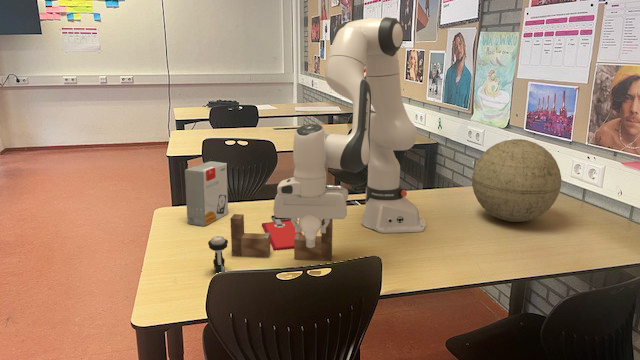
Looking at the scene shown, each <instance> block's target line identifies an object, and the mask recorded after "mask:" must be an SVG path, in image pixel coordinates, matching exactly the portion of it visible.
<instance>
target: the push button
mask: <svg viewBox="0 0 640 360" xmlns="http://www.w3.org/2000/svg"><path fill="white" fill-rule="evenodd" d="M228 244H229V241H228V239H225V237H224V236H222V235H219V236H218V235H217V236H212V237H211V239H210V240H209V241H208V242H207V245H208V247H209V249H210V250H211V251H214V259H213V260H212V261H213V262H212V263H213V269H214V273H215V274H216V273H219V272H223V273H224V271H226V266H225V262H226V260H225V258H224V257H223V252H222V251H224V250H225V249H226V248H228Z"/></svg>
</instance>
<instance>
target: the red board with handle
mask: <svg viewBox="0 0 640 360" xmlns="http://www.w3.org/2000/svg"><path fill="white" fill-rule="evenodd" d="M271 218H272V220H273V221H269V222H262V223H261V227H262V229H263V231H264V232H265V233H264V234H266V233H270V247H272V250H273V252H274V251H275V252H276V250H277V251H284V250H294V239H295V236H296V234H300V235H303V236H305V235H304V234H303V233H302V232H301V233H295V227H294V225H293V224H292V222H291V218H276V217H275V215H274V214H273V215H271Z"/></svg>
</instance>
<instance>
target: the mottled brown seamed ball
mask: <svg viewBox="0 0 640 360" xmlns="http://www.w3.org/2000/svg"><path fill="white" fill-rule="evenodd" d="M471 181H472V182H471V183H472V185H471V186H472V190H473V193H474V195H475V197H476V200H477V202H478V204H480V206H481V207H482V209H484V210H485V211H486V212H487V213H488V214H490V215H491V216H493V217H494V218H495V217H496V218H497V219H498V220H502V221H505V222H511V223H522V222H526V221H527V222H528V221H531V220H535V219H537V218H538V217H541V216H542V215H544V214H545V213H546V212H547V211H549V210H550V208H552V206H554V204H555V202H556V201H557V198H558V196H559V195H560V191H561V187H562V174H561V170H560V167H559V164H558V162H557V160H556V159H555V157H554V156H553V155H552V153H550V152H549V150H547V149H546V148H545V147H544V146H541V145H540V144H538V143H536V142H534V141H531V140H529V139H528V140H527V139H521V138H520V139H519V138H515V139H507V140H503V141H500V142H498V143H496V144H494V145H492V146H490V147H489V148H487V149H486V150H485V151H484V152H482V154H481V155H480V156H479V158H478V159H477V160H476V163H475V165H474V168H473V172H472V177H471Z"/></svg>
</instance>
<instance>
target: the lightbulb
mask: <svg viewBox="0 0 640 360" xmlns="http://www.w3.org/2000/svg"><path fill="white" fill-rule="evenodd" d="M298 225H300V228H301V232H303V236H304V235H305V238H306V247H308V248H313V247H315V238H316V236H318V235H317V233H319V230H320V227H321V226H322V219H318V218H316V217H314V216H312V215H307V216H305V217H303V218H298Z"/></svg>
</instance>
